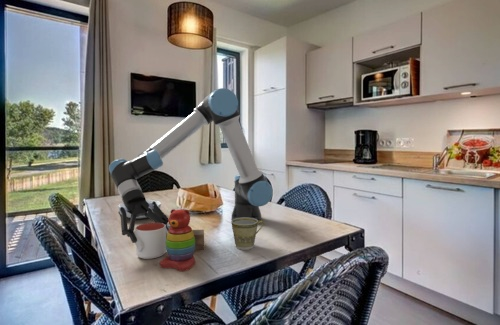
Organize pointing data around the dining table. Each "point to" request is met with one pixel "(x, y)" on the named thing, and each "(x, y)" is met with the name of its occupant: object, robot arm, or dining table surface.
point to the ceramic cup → (245, 232)
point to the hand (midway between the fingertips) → (156, 245)
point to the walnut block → (199, 240)
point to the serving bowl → (140, 216)
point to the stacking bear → (179, 242)
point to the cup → (152, 240)
